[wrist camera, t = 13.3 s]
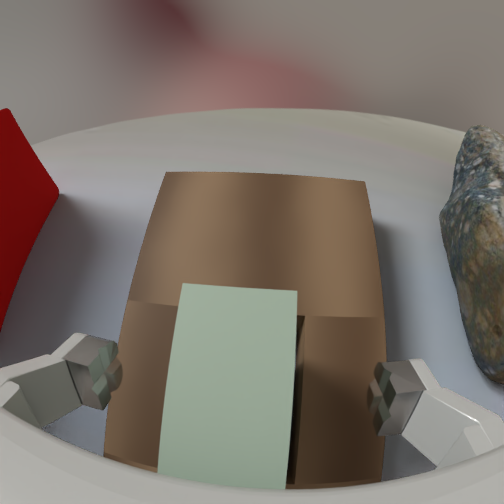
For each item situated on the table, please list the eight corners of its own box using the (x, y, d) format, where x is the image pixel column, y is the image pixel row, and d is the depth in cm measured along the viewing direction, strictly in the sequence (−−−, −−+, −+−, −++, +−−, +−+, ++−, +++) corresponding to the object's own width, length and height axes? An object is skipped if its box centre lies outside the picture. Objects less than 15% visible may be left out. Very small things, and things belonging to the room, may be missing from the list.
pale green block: (218, 438, 12) (156, 484, 4) (227, 355, 15) (182, 283, 6) (269, 443, 12) (284, 500, 4) (275, 359, 15) (297, 290, 6)
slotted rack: (127, 557, 8) (106, 575, 5) (176, 202, 20) (165, 172, 17) (339, 578, 7) (352, 601, 5) (353, 211, 19) (364, 181, 16)
